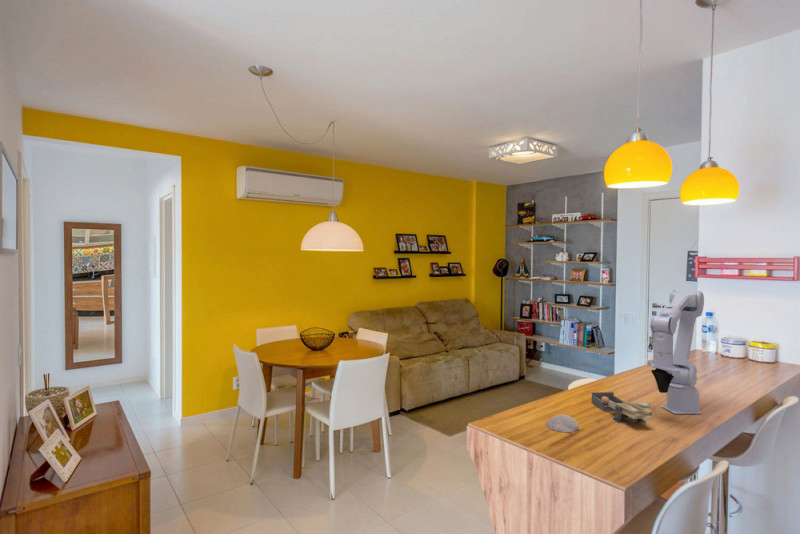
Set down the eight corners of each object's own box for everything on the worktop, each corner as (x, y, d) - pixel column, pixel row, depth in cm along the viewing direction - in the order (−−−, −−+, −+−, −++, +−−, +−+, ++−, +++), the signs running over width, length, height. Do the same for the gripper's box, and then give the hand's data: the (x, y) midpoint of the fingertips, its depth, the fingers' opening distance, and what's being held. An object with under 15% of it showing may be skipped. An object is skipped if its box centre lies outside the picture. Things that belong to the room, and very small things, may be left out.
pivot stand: (639, 418, 148) (639, 404, 148) (646, 422, 144) (646, 408, 144) (612, 418, 148) (612, 404, 148) (618, 423, 144) (618, 408, 144)
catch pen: (612, 402, 165) (612, 392, 165) (625, 410, 156) (625, 399, 156) (591, 402, 165) (591, 392, 165) (603, 411, 156) (603, 400, 156)
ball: (611, 400, 161) (609, 406, 162) (607, 394, 163) (606, 400, 165) (603, 400, 161) (602, 406, 162) (600, 394, 163) (598, 400, 165)
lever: (645, 405, 154) (644, 398, 154) (674, 418, 138) (673, 410, 138) (608, 406, 154) (608, 399, 154) (633, 418, 138) (633, 410, 138)
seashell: (575, 426, 134) (544, 413, 140) (571, 442, 135) (540, 428, 141) (584, 416, 142) (554, 404, 148) (581, 431, 143) (551, 418, 149)
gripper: (639, 347, 152) (639, 386, 152) (664, 356, 138) (664, 399, 138) (658, 347, 152) (658, 385, 153) (686, 356, 138) (686, 398, 138)
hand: (663, 392), depth 145 cm, fingers closed
